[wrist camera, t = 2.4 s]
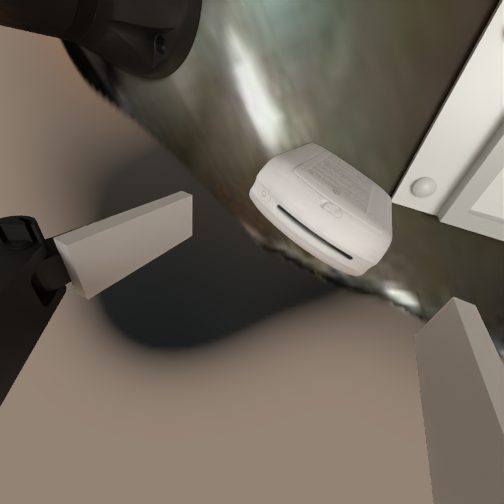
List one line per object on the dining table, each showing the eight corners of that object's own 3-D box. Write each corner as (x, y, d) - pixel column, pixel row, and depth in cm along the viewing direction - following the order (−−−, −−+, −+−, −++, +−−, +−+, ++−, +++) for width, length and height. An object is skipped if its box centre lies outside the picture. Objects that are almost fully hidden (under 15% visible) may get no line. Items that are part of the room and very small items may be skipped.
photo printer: (287, 172, 25) (228, 208, 16) (310, 134, 22) (254, 150, 13) (365, 228, 24) (351, 302, 15) (399, 196, 21) (409, 261, 12)
